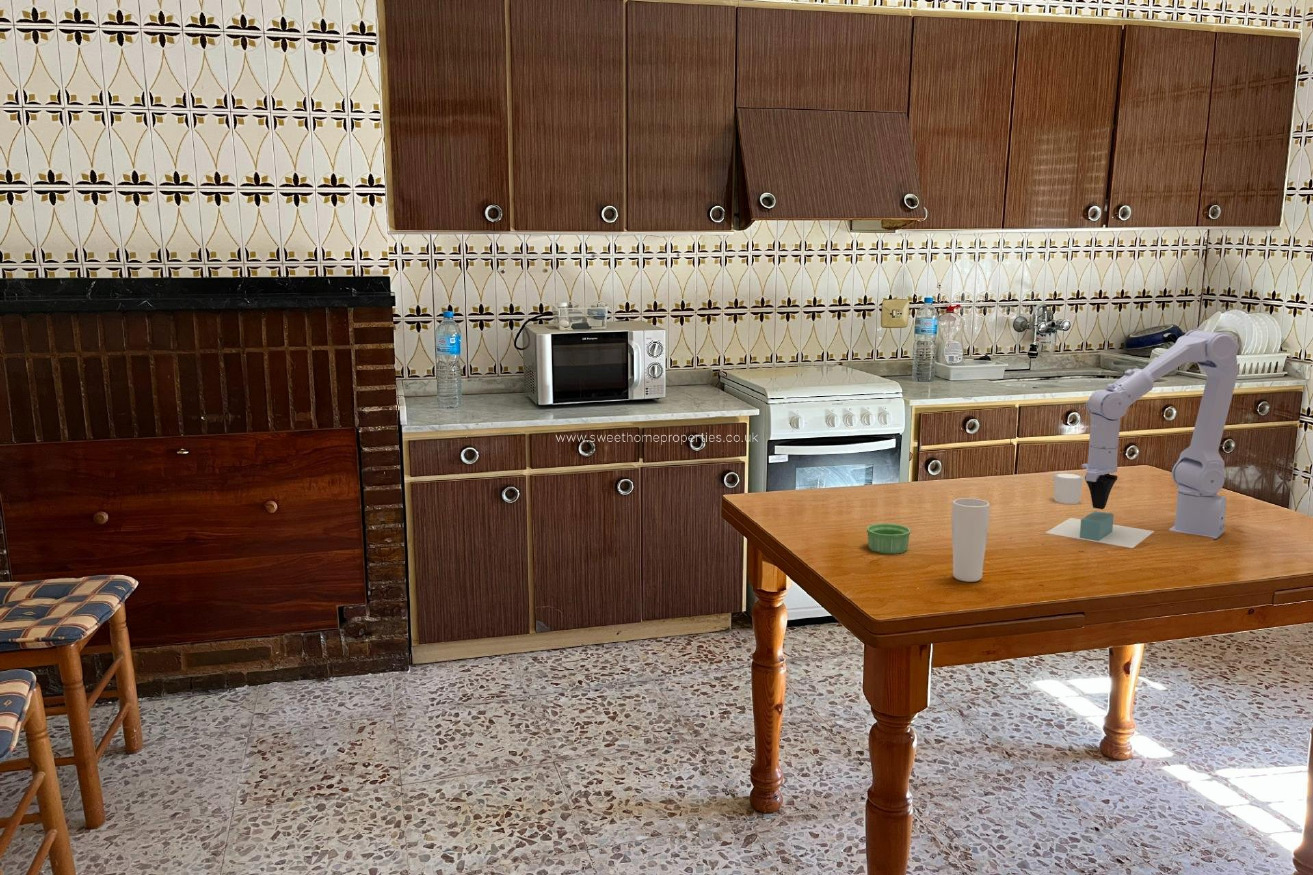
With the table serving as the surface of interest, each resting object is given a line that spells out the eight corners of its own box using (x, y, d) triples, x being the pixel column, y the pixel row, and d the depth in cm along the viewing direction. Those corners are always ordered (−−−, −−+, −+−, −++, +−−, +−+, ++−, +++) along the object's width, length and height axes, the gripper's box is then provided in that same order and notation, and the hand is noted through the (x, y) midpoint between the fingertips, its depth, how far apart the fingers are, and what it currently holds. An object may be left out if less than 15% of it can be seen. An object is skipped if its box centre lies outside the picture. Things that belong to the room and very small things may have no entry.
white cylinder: (1076, 500, 251) (1078, 472, 250) (1085, 507, 244) (1087, 478, 243) (1048, 499, 252) (1049, 472, 250) (1056, 506, 245) (1058, 478, 244)
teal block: (1113, 513, 220) (1100, 522, 214) (1112, 531, 221) (1099, 540, 215) (1094, 510, 223) (1080, 519, 216) (1093, 528, 224) (1079, 537, 217)
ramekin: (915, 546, 214) (916, 526, 213) (902, 557, 207) (903, 536, 206) (874, 540, 219) (874, 521, 218) (860, 551, 211) (860, 531, 210)
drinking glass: (978, 572, 197) (982, 497, 194) (991, 583, 190) (995, 506, 187) (944, 572, 197) (947, 498, 194) (955, 584, 190) (959, 507, 187)
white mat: (1154, 533, 221) (1154, 531, 221) (1132, 550, 209) (1132, 547, 209) (1070, 520, 233) (1070, 517, 233) (1045, 535, 221) (1045, 532, 221)
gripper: (1095, 439, 224) (1090, 498, 226) (1072, 449, 213) (1068, 511, 216) (1128, 442, 219) (1124, 503, 222) (1107, 453, 209) (1102, 517, 211)
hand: (1098, 508), depth 218 cm, fingers closed
